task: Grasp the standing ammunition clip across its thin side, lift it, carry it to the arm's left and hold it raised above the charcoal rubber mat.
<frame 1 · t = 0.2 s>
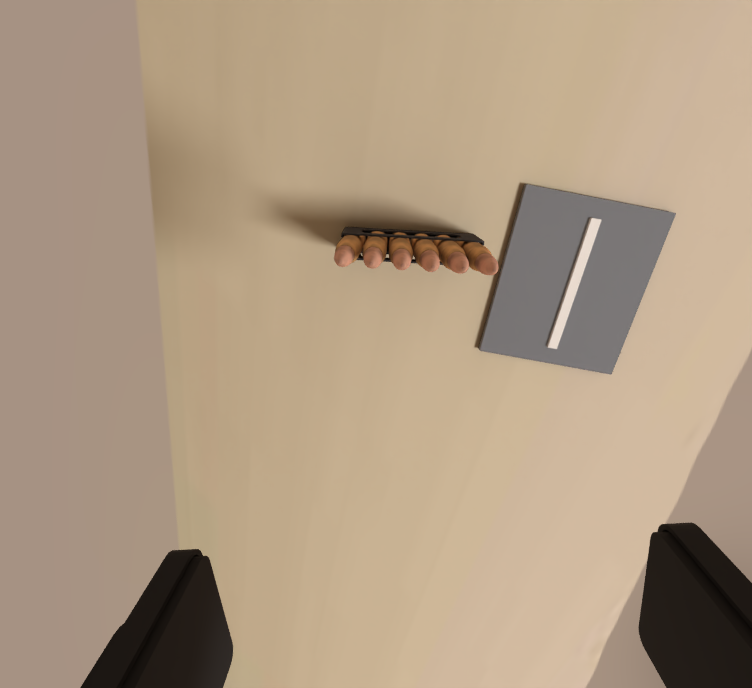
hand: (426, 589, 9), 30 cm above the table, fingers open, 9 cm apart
mat: (569, 284, 37), on the table
ammunition clip: (408, 241, 36), on the table
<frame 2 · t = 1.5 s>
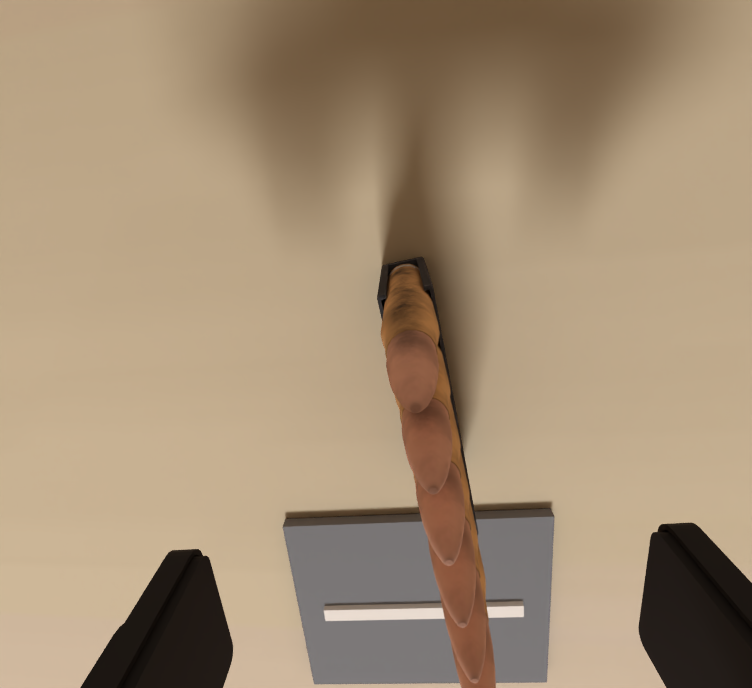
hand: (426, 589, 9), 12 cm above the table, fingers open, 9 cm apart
mat: (421, 599, 25), on the table
ammunition clip: (424, 371, 21), on the table
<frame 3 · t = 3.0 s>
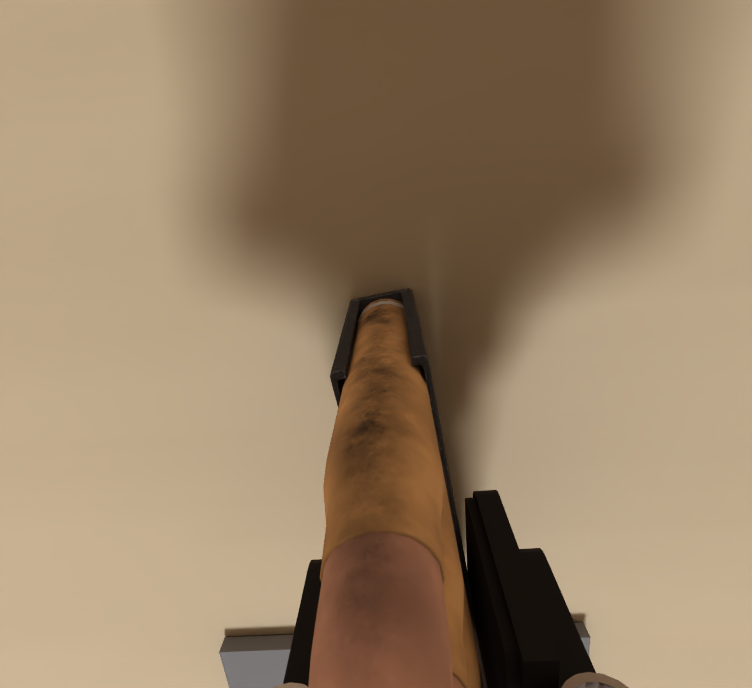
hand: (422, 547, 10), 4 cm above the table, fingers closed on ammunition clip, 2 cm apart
ammunition clip: (412, 446, 15), on the table, touching gripper
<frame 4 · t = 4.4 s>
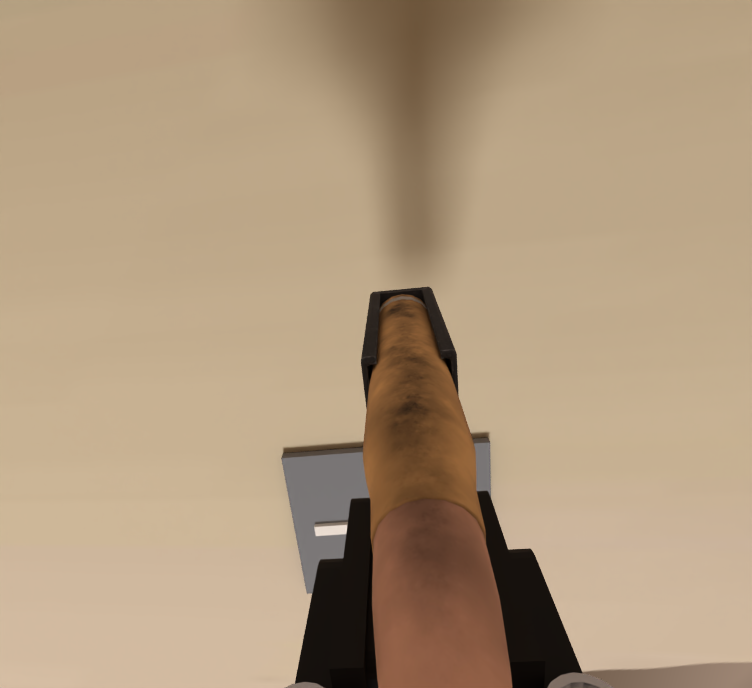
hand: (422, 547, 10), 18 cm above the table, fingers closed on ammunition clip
mat: (391, 517, 31), on the table
ammunition clip: (413, 440, 15), point 13 cm above the table, touching gripper
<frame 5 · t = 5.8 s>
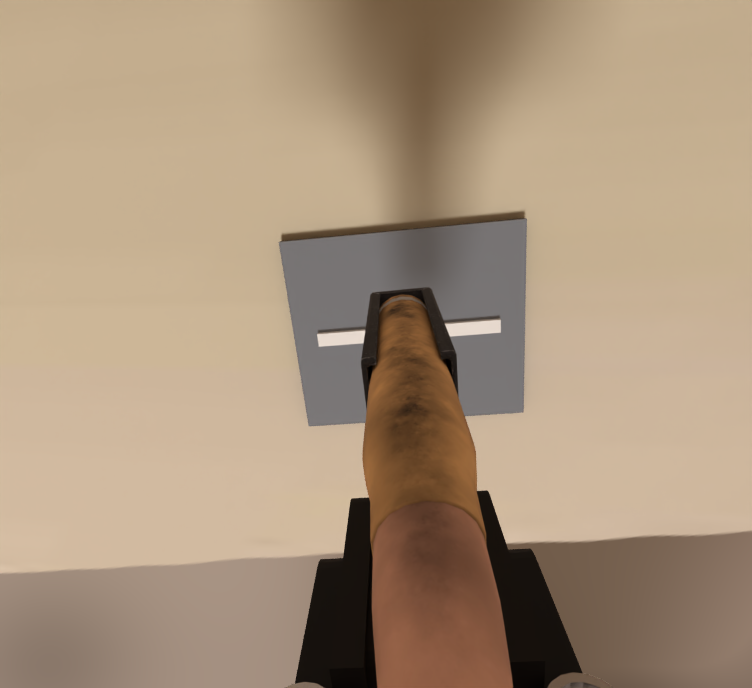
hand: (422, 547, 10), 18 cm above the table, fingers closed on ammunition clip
mat: (407, 329, 27), on the table
ammunition clip: (413, 440, 15), point 13 cm above the table, touching gripper
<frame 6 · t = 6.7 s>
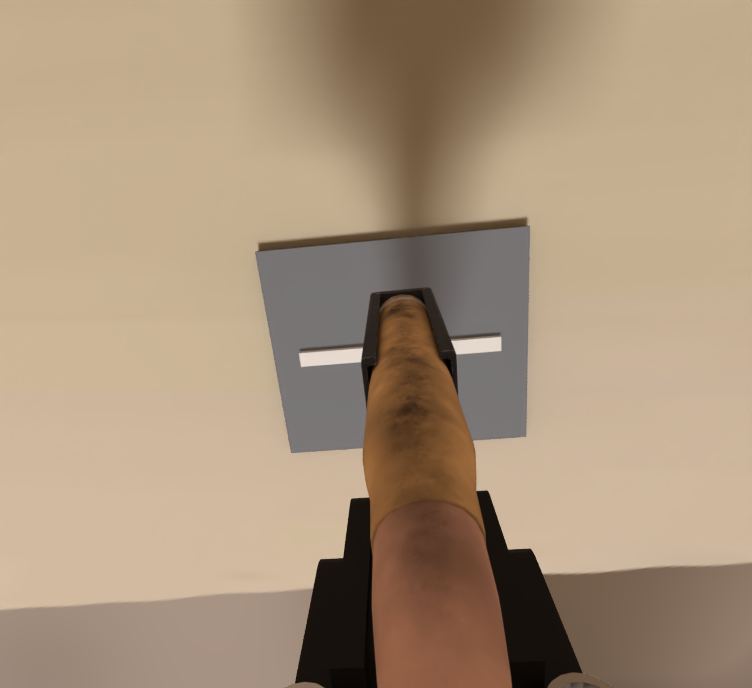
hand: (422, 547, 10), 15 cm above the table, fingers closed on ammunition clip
mat: (398, 346, 24), on the table
ammunition clip: (413, 440, 15), point 10 cm above the table, touching gripper
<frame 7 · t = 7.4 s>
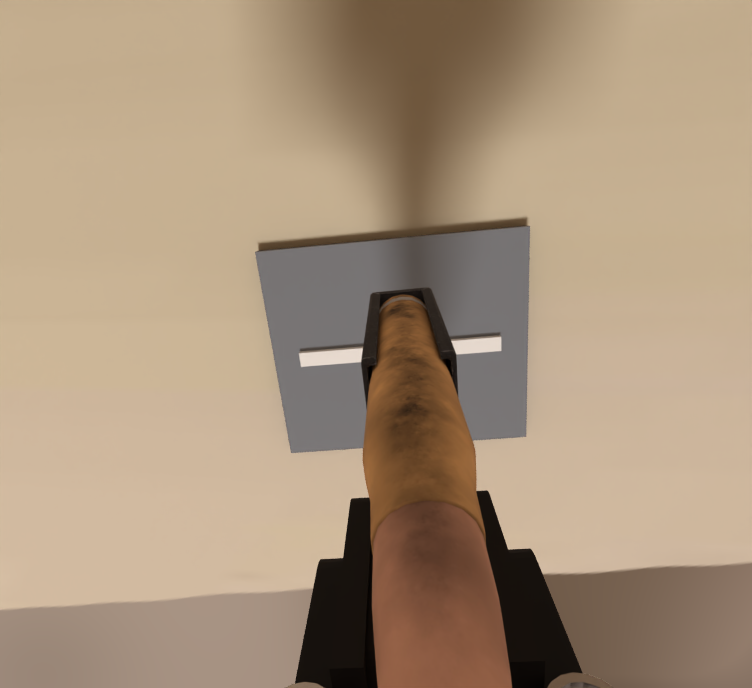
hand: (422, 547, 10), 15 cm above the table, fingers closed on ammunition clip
mat: (398, 346, 24), on the table
ammunition clip: (413, 440, 15), point 10 cm above the table, touching gripper
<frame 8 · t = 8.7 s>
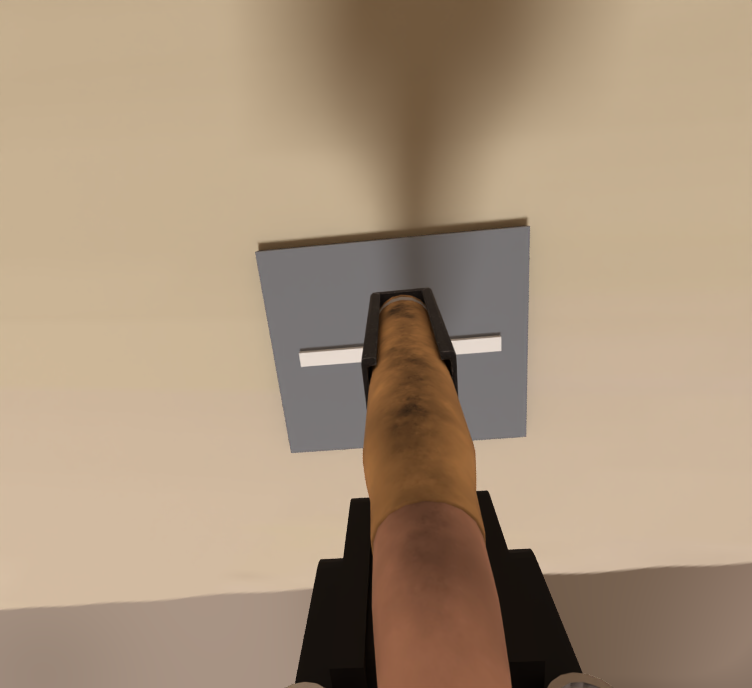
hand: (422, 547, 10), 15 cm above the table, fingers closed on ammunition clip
mat: (398, 346, 24), on the table
ammunition clip: (413, 440, 15), point 10 cm above the table, touching gripper
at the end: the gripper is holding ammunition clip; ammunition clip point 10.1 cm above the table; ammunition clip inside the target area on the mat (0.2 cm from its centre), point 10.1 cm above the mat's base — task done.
